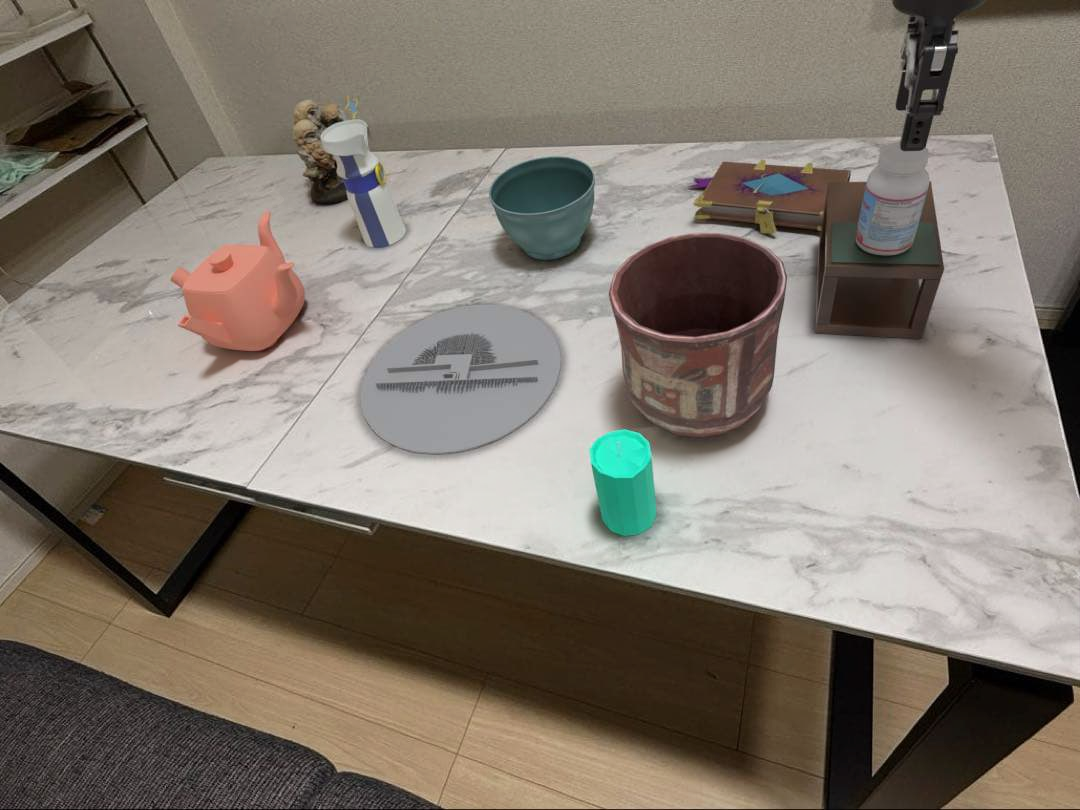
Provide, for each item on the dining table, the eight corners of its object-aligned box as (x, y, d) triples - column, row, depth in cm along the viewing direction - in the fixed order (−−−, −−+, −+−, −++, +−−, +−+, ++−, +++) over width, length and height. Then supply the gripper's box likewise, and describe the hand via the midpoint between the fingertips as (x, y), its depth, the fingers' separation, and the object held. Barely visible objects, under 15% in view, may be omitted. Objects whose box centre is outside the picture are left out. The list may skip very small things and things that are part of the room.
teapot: (304, 275, 115) (266, 205, 105) (331, 331, 103) (291, 257, 93) (202, 320, 111) (152, 251, 101) (217, 384, 99) (163, 313, 89)
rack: (911, 250, 91) (931, 179, 84) (921, 339, 80) (945, 267, 73) (818, 248, 95) (828, 180, 87) (815, 333, 84) (826, 264, 76)
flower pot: (618, 221, 109) (611, 159, 101) (576, 282, 100) (565, 219, 92) (532, 210, 116) (520, 152, 108) (486, 266, 107) (469, 206, 99)
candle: (596, 532, 71) (581, 465, 62) (605, 486, 74) (593, 416, 66) (653, 539, 69) (646, 470, 60) (660, 491, 73) (654, 420, 64)
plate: (333, 454, 85) (329, 448, 84) (393, 310, 103) (391, 304, 102) (546, 454, 79) (544, 448, 78) (571, 301, 97) (570, 295, 96)
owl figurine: (350, 208, 128) (312, 122, 115) (298, 209, 131) (256, 125, 119) (386, 160, 139) (355, 76, 127) (338, 162, 143) (303, 81, 130)
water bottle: (411, 217, 121) (360, 77, 103) (404, 244, 116) (349, 101, 98) (368, 224, 123) (311, 86, 104) (359, 251, 117) (296, 111, 99)
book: (697, 177, 115) (697, 149, 111) (851, 189, 105) (856, 159, 101) (665, 226, 105) (664, 197, 102) (830, 245, 95) (836, 213, 92)
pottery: (629, 349, 88) (617, 234, 75) (769, 347, 84) (781, 225, 71) (617, 456, 77) (600, 342, 64) (778, 460, 73) (795, 339, 60)
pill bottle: (861, 224, 80) (879, 134, 72) (917, 232, 77) (943, 139, 69) (848, 253, 77) (865, 163, 69) (906, 262, 74) (931, 169, 66)
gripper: (1018, -36, 50) (958, 163, 62) (992, -90, 59) (944, 94, 71) (907, -25, 53) (870, 165, 64) (897, -78, 61) (866, 98, 73)
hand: (908, 128), depth 67 cm, fingers open, 8 cm apart
